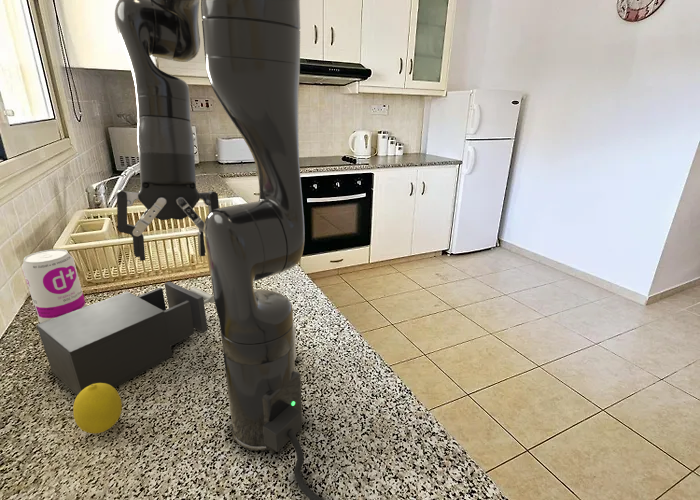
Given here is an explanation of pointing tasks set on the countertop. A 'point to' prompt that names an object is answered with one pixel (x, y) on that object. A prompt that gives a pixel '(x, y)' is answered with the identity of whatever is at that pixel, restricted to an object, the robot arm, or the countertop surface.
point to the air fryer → (106, 341)
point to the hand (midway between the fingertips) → (173, 257)
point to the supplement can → (53, 283)
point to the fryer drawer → (181, 309)
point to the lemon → (97, 408)
